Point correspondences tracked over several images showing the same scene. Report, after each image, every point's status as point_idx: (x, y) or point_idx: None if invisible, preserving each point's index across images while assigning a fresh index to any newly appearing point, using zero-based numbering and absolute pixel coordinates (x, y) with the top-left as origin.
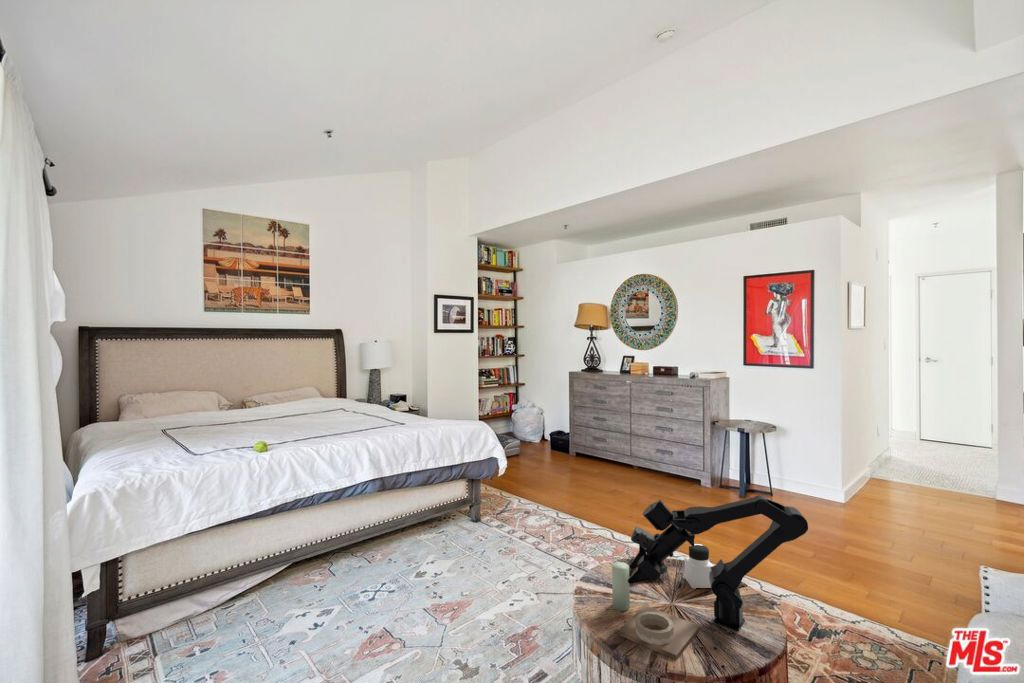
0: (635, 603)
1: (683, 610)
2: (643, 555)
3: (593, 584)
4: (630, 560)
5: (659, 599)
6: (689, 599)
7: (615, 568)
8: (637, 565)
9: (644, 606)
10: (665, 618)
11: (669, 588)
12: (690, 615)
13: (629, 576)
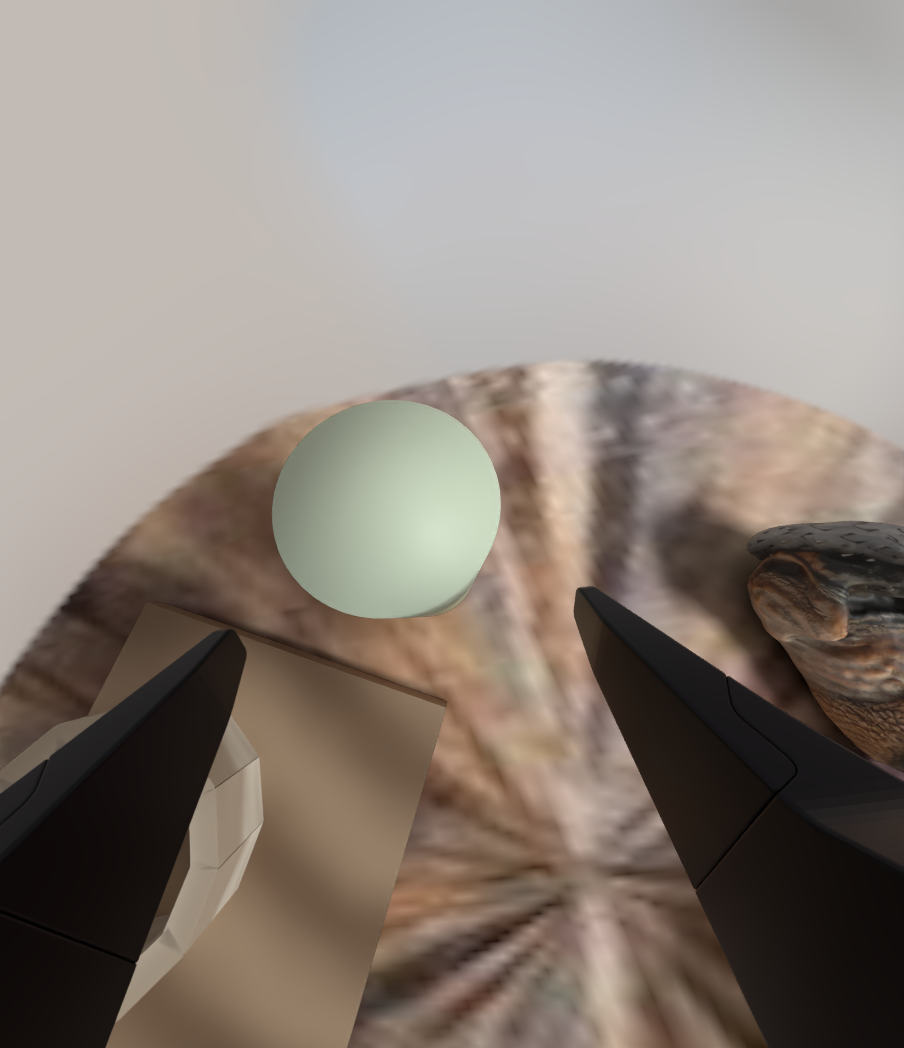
0: (488, 639)
1: (529, 972)
2: (783, 892)
3: (585, 397)
4: (883, 545)
5: (596, 780)
6: (698, 1014)
7: (296, 455)
8: (610, 695)
9: (428, 710)
10: (142, 954)
11: None
12: (485, 1035)
13: (758, 557)
